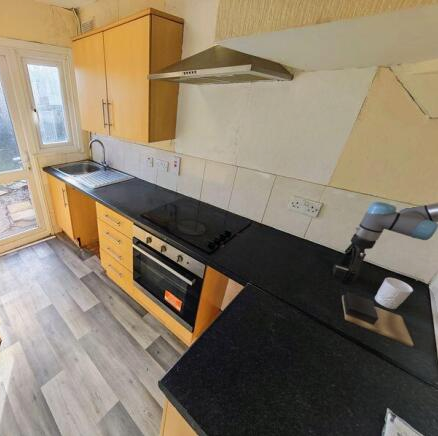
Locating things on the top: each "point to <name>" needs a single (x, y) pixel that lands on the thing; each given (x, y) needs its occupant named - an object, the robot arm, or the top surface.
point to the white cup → (393, 293)
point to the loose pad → (342, 271)
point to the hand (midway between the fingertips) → (343, 274)
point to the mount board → (385, 325)
